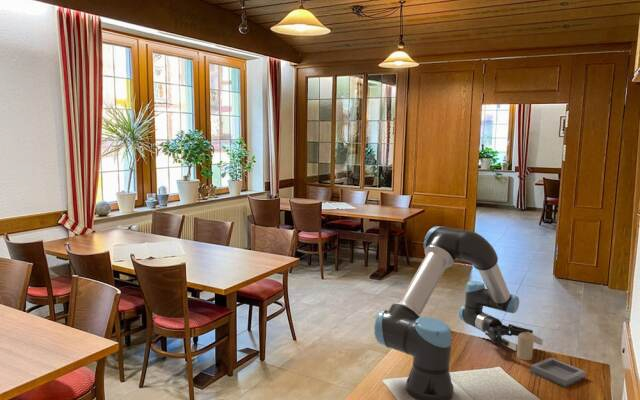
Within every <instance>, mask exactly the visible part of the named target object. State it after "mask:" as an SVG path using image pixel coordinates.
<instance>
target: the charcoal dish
mask: <svg viewBox="0 0 640 400" xmlns="http://www.w3.org/2000/svg"><path fill="white" fill-rule="evenodd" d="M529 372H530V373H531V374H534V375H536V376H538V377H540V378H542V379H545V380H547V381H549V382H552V383H554V384H556V385H559V386H560V387H563V388H564V389H565V388H567V387H570V386H572V385H574V384H576V383H578V382H581V381H582V380H584V379H586V374H587V371H585V370H583V369H581V368H578V367H576V366H573V365H571V364H568V363H565V362H563V361H561V360H559V359H556V358H554V357H548V358H545V359H543V360H541V361H539V362H536V363H533V364H530V369H529Z"/></svg>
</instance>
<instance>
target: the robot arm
mask: <svg viewBox="0 0 640 400" xmlns="http://www.w3.org/2000/svg"><path fill="white" fill-rule="evenodd" d="M423 250H424V255H425V257H424V258H423V260H422V262H421V264H420V265H419V266H418V269H417V271H416V272H415V274H414V275H413V278H412V279H411V280H410V283H409V284H408V285H407V288H406V289H405V291H404V293H403V294H402V295H401V297H400V299H399V301H398V302H395V303H392V304H391V306H390V307H389V309H383V310H380V311H379V312H378V314H377V316H376V318H375V321H374V326H373V327H374V336H375V337H374V338H375V340H376V342H378V343H379V344H381V345H383V346H385V347H386V348H389V349H393V350H395V351H398V352H401V353H404V354H406V355H409V356H412V357H413V358H412V367H411V370H410V373H409V374H408V377H407V379H406V382H405V383H406V385H405V386H406V387H405V389H406V392H407V393H408V394H409V395H410V396H411V397H413V398H415V399H416V400H452V398H453V397H454V385H453V382H452V378H451V374H450V363H451V351H452V350H451V348H452V344H453V343H452V330H451V328H450V327H449V325H448V324H447V323H445V322H444V321H442V320H440V319H438V318H435V317H428V316H421V314H422V313H423V311H424V309H425V307H426V305H427V304H428V301H429V300H430V298H431V296H432V294H433V293H434V290H435V289H436V287H437V285H438V284H439V282H440V280H441V278H442V277H443V275H444V272H445V271H446V269H447V268H450V267H452V266H453V265H454V263H455V261H456V260H457V261H461V262H466V263H470V264H472V266H473V268H474V269H476V270H478V273H479V275H480V277H481V279H482V281H483V282H482V281H479V280H470V281H468V282H467V283H466V289H465V300H464V305H462V306H461V307H460V310H459V311H458V317H459V319H460V321H462V322H464V324H465V323H466V324H467V325H470V326H472V327H473V328H476V330H477V329H478V330H479V331H481V332H483V333H485V335H486V336H487V337H488V338H489V339H490V341H491V342H492V344H494V345H495V344H497V345H498V346H502V345H504V346H505V347H508V348H509V349H511V350H513V351H516V352H517V345H518V342H514V340H511V339H509V338H507V337H505V336H508V337H509V336H510V337H512V336H516V337H518V335H519V334H520V333H522V332H530V334H531V335H532V336H533V337H534V342H533V343H535V344H537V345H538V346H543V344H544V343H543V342H544V338H543V337H541V336H538V335H536V334H534V330H532V329H528V328H525V327H524V328H523V327H521V326H517V325H514V324H511V323H509V324H508V325H505V324H503V323H502V321H501V320H500V319H499V318H496V317H494V316H493V315H490V314H489V313H486V312H484V311H483V310H484V309H483V308H484V307H486V308H490V309H494V310H497V311H501V312H504V313H510V314H515V313H517V312H518V309H519V305H520V298H519V297H518V296H517V295H515V294H511V293H510V291H509V288H508V286H507V284H506V283H507V282H506V281H505V279H504V276H503V274H502V272H501V269H500V266H499V265H498V255H497V252H496V250H495V248H494V247H493V245H492V244H491V243H490V242H489V241H488V240H487V239H486V238H485V237H484V236H482V235H480V234H479V233H478V232H475V231H473V230H465V229H459V228H454V227H453V228H452V227H449V226H445V225H444V226H438V225H436V226H432V228H430V229H429V230H428V231H427V233H426V235H425V236H424V241H423ZM452 396H453V397H452Z"/></svg>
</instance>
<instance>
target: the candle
mask: <svg viewBox="0 0 640 400" xmlns="http://www.w3.org/2000/svg"><path fill="white" fill-rule="evenodd" d="M534 343H535V342H534V337H533V336H532V335H531V334H530V332H522V333H520V334H519V335H518V336H517V350H516V357H517V358H518V359H519V360H523V361H531V360H533V355H534V354H533V351H534Z"/></svg>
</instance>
